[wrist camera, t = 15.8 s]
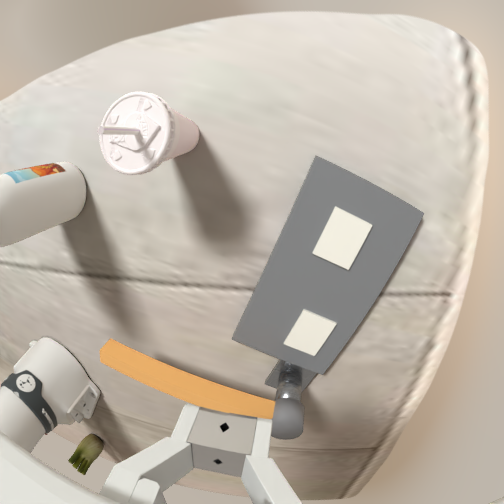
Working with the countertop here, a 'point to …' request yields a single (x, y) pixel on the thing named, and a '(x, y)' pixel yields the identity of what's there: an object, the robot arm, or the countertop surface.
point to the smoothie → (144, 133)
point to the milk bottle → (39, 199)
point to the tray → (326, 267)
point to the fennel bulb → (86, 453)
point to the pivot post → (289, 380)
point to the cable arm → (204, 390)
